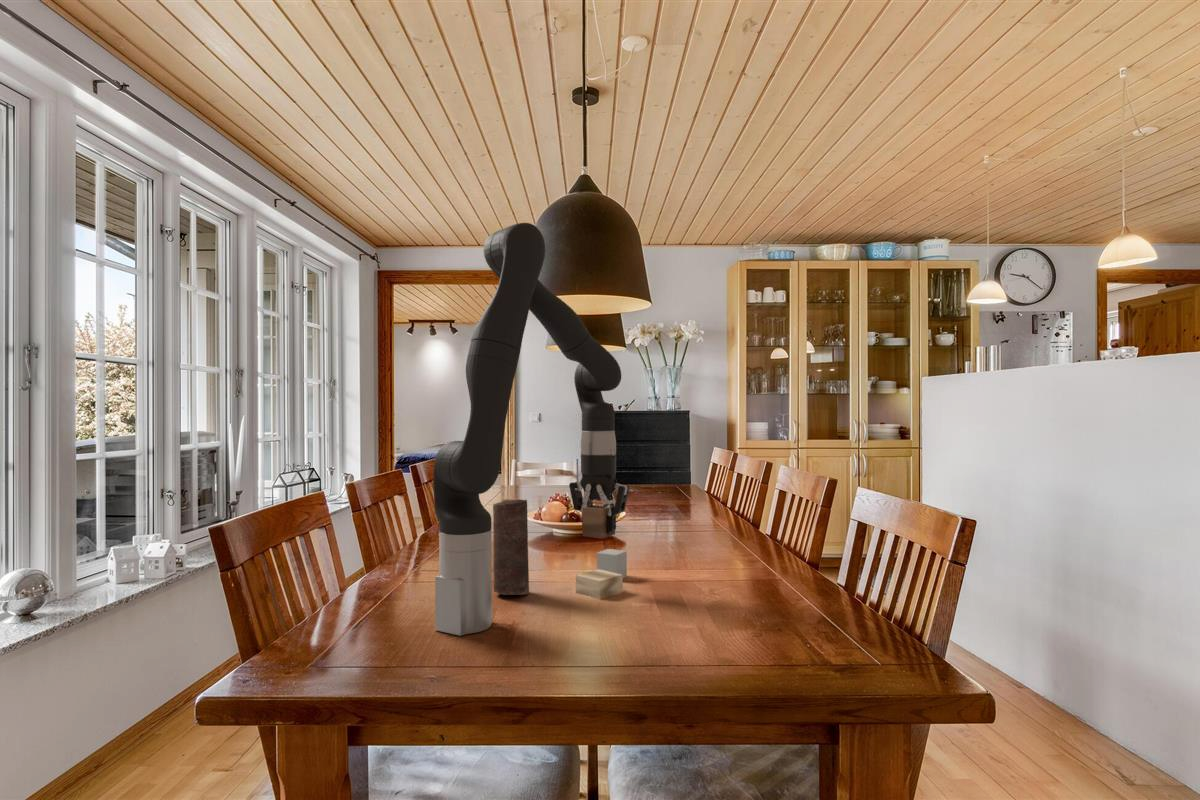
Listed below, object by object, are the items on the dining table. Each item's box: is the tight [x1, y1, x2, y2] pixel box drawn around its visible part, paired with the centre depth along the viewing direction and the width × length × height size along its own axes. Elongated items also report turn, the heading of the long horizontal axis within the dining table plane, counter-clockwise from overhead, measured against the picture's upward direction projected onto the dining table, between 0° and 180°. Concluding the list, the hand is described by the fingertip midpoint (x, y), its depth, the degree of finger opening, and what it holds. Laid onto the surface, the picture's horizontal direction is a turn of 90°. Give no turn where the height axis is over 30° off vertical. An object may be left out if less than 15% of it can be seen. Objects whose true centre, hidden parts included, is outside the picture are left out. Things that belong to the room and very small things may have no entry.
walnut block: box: [582, 504, 616, 539], centre depth 141 cm, size 5×5×6 cm
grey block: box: [596, 548, 628, 579], centre depth 153 cm, size 5×5×6 cm
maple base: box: [575, 569, 624, 600], centre depth 141 cm, size 7×7×4 cm
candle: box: [492, 499, 530, 596], centre depth 139 cm, size 8×7×20 cm
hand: (599, 531), depth 141 cm, fingers closed on walnut block, 5 cm apart
